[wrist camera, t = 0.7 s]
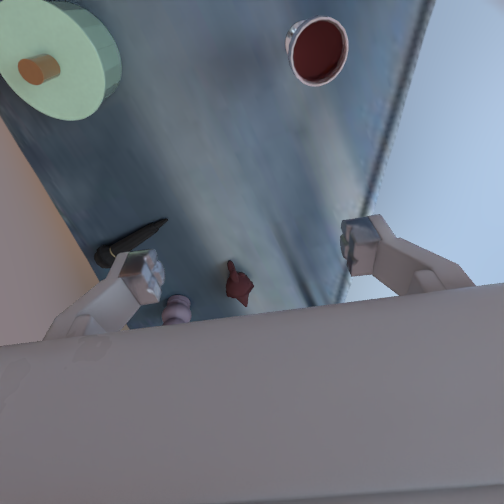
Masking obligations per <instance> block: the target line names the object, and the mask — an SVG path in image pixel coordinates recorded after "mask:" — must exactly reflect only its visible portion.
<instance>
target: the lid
mask: <svg viewBox="0 0 504 504" xmlns="http://www.w3.org/2000/svg"><path fill="white" fill-rule="evenodd" d="M0 73H1V75H2V76H3V78H4V79H5V81H6V82H7V83H8V85H9V86H10V87H11V88H12V89H13V90H14V92H15V93H16V94H17V95H18V96H19V97H21V98H22V99H23V100H24V101H25V102H26V103H28V104H29V105H31V106H32V107H33V108H35V109H37V110H38V111H40V112H42V113H44V114H46V115H48V116H51V117H54V118H57V119H61V120H80V119H83V118H86V117H88V116H90V115H91V114H93V113H94V112H95V111H96V110H97V109H98V108H99V107H100V105H101V103H102V101H103V99H104V95H105V90H106V77H105V71H104V67H103V63H102V61H101V58H100V55H99V53H98V51H97V49H96V47H95V45H94V44H93V42H92V41H91V39H90V37H89V36H88V35H87V33H86V32H85V31H84V30H83V28H82V27H81V26H80V25H79V24H78V23H77V22H76V21H75V20H74V19H73V18H72V17H71V16H69V15H68V14H67V13H66V12H64V11H63V10H62V9H60V8H58V7H57V6H55V5H53V4H51V3H49V2H47V1H45V0H3V1H2V2H0Z"/></svg>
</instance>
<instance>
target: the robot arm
mask: <svg viewBox="0 0 504 504" xmlns="http://www.w3.org/2000/svg"><path fill="white" fill-rule="evenodd" d="M341 230H342V232H343V234H342V235H341V236H340V246H341V251H342V255H343V257H344V258H345V259H347V267H348V269H349V272H350V274H351V277H352V276H362V275H371V274H373V276H374V277H376V278H377V279H378V280H379V281H381V282H382V283H383V284H385V285H386V286H387V287H389V288H390V289H391V290H392V291H394V292H395V293H396V294H398V295H399V296H394V297H387V298H379V299H371V300H363V301H355V302H347V303H340V304H332V305H324V306H316V307H307V308H299V309H291V310H283V311H275V312H267V313H259V314H251V315H244V316H236V317H228V318H220V319H212V320H204V321H196V322H188V323H180V324H172V325H165V326H157V327H149V328H141V329H133V330H126V331H120V330H121V329H122V328H123V327H124V325H125V324H126V323H127V322H128V321H129V319H130V318H131V317H132V316H133V315H134V313H135V312H136V311H137V310H138V309H139V307H140V305H145V304H151V303H157V302H159V300H160V296H161V292H162V289H161V288H160V286H161V285H162V284H163V283H164V281H165V269H164V266H163V264H162V262H160V261H158V260H157V256H158V255H157V253H156V251H155V250H154V249H146V250H138V251H131V252H123V253H119V254H118V255H117V257H116V259H115V261H114V263H113V265H112V267H111V269H110V271H109V273H108V275H107V277H106V280H102V281H100V282H99V283H98V284H97V285H95V286H94V287H93V288H92V289H90V290H89V291H88V292H87V293H86V294H84V295H83V296H82V297H81V298H79V299H78V300H77V301H76V302H74V303H73V304H72V305H71V306H69V307H68V308H67V309H66V310H65V311H63V312H62V313H61V314H59V315H58V316H57V317H56V318H55V319H54V321H53V323H52V325H51V326H50V328H49V330H48V331H47V333H46V335H45V337H44V338H43V340H42V341H37V342H29V343H21V344H14V345H6V346H0V504H504V283H498V284H490V285H482V286H476V285H475V284H474V283H473V282H472V280H471V279H470V278H469V277H468V276H467V274H466V273H465V272H464V271H463V270H462V268H461V267H460V266H459V265H458V264H456V263H454V262H452V261H449V260H447V259H445V258H443V257H441V256H439V255H436V254H434V253H432V252H430V251H428V250H426V249H423V248H421V247H419V246H417V245H415V244H413V243H411V242H408V241H406V240H404V239H402V238H396V236H395V235H394V233H393V232H392V230H391V229H390V227H389V226H388V224H387V223H386V221H385V220H384V219H383V217H382V216H381V215H380V214H378V215H371V216H367V217H361V218H355V219H348V220H342V223H341Z"/></svg>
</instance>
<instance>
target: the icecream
mask: <svg viewBox="0 0 504 504" xmlns="http://www.w3.org/2000/svg"><path fill="white" fill-rule="evenodd" d="M227 266H228V270H229V272H230V276H229V278H228V279H227V284H226V293H227V296H228V297H232V298H236V299H237V300H239V301H240V302H241V303H242V304H243V305H244V306H245V307H247V304H248V296H249V293H250V292H251V290H252V289H253V287H254V285H253V282H251V281H250V279H249V278H248V277H247V275H245V274H244V273H242V272H239V273H237V272H236V270H235V267H234V264H233V262H232V261H229V262H228V264H227Z"/></svg>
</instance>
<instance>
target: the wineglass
mask: <svg viewBox="0 0 504 504" xmlns="http://www.w3.org/2000/svg"><path fill="white" fill-rule="evenodd" d="M285 46H286V51H287V53H288V59H289V65H290V67H291V69H292V71H293V73H294V75H295V76H296V77H297V78H298V79H299V80H300V81H301V82H302V83H304V84H307V85H309V86H321V85H324V84H327V83H328V82H330V81H331V80H333V79H334V78H335V77H336V76H337V75H338V74H339V72H340V71H341V70H342V68H343V66H344V64H345V62H346V59H347V54H348V37H347V34H346V32H345V29H344V28H343V26H342V25H341V24H340V23H339V22H338V21H336V20H334V19H332V18H331V17H328V16H320V15H317V16H314V17H311V18H308V19H307V20H305V21H299V22H297V23H295V24H294V25H293V26H292V27H291V28H290V30H289V31H288V34H287V37H286V43H285Z"/></svg>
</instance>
